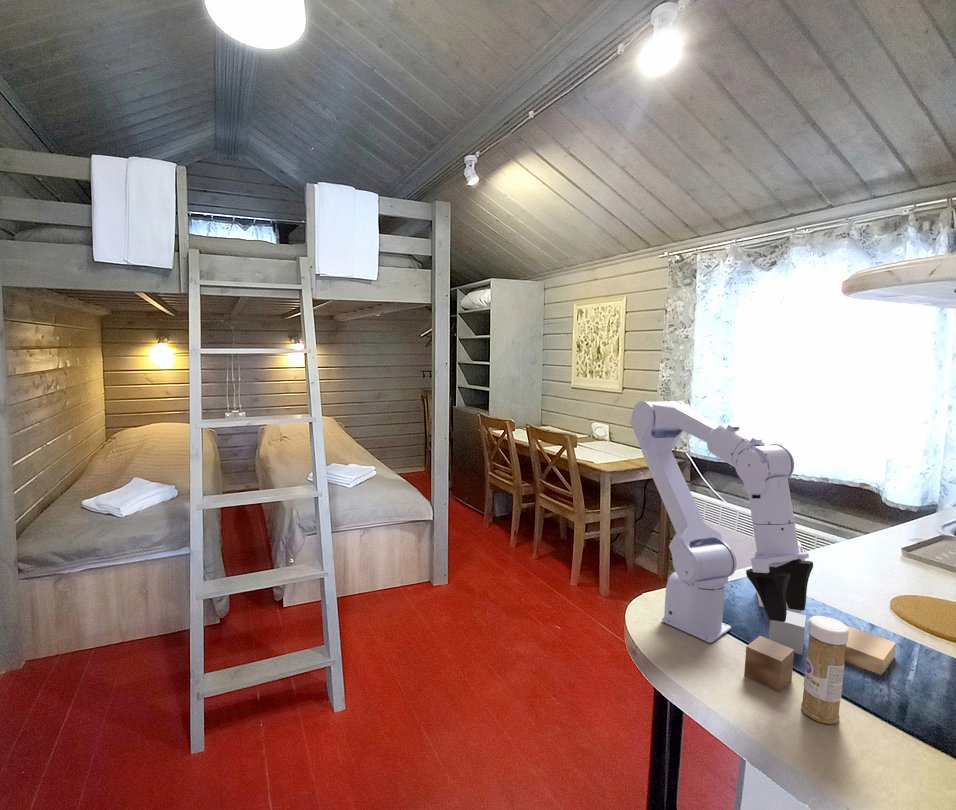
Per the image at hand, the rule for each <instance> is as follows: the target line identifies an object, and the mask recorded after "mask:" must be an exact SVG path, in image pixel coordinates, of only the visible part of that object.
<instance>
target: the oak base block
mask: <svg viewBox="0 0 956 810" xmlns="http://www.w3.org/2000/svg"><path fill="white" fill-rule="evenodd" d="M845 625H846V624H845ZM846 626H847V628H848V631H849V632H848V642H847V643H846V647H845V658H844V663H848V664H850V665H853V666H856V667H858V668H860V667H861V669H863V670H865V669H866V671H868V670H869V671H868V672H870V671H873V672H876V673H880V674H882V673H883V672H884V671H886V670H887V669H888V668H889V666H890V665H891V663H892V662H891V661H893V660H894V659H895V655H896V646H897V642H895V641H892V640H889V639H886V638H883V637H881V636H878V635H875V634H872V633H869V632H866V631H864V630H861V629H858V628H855V627H852V626H850V625H846ZM889 664H890V665H889ZM888 665H889V666H888ZM886 668H887V669H886ZM885 669H886V670H885ZM873 672H872V673H873ZM876 673H875V674H876ZM884 673H885V672H884ZM884 673H883V674H884Z"/></svg>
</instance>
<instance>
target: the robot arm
mask: <svg viewBox="0 0 956 810" xmlns="http://www.w3.org/2000/svg"><path fill="white" fill-rule="evenodd" d="M629 423H630V425H631V427H632V429H633V433H634V435H635V437H636V440H637V442H638V445H639V446H640V449H641V453H642V456H643V459H644V461H645V463H646V465H647V467H648V469H649V472H650V475H651V476H652V477H651V478H652V479H653V482H654V484H655V487H656V489H657V492H658V494H659V495H660V497H661V501H662V503H663V506H664V507H665V510H666V512H667V514H668V516H669V519H670V521H671V524H672V526H673V529H674V531H675V535H674V536H673V538H672V540H670V543H669V545H668V548H669V551H670V552H671V553H670V554H671V556H672V558H671V559H672V566H673V569H674V572H672V573H671V575H670V576H669V577H668V579H667V582H666V587H665V597H664V598H665V599H664V614H663V617H662V618H661V621H662V623H664V622H665V624H666V625H669V626H671V627H674V628H676V629H678V630H680V631H683V632H684V633H687V634H689V635H691V636H693V637H696V638H698V639H700V640H702V641H704V642H706V643H710V644H711V643H713V642H715V641H716V640H719V638H720V637H722V636H724V634H726V633H727V632H729V631H730V630H732V626H731V625H729V624H726V623H724V622H723V616H724V614H723V613H724V601H725V585H726V584H728V583H729V577H731V576H733V575H734V574H735V572H736V569H737V563H738V561H737V557H736V555H735V552H734V551H733V549H732V548H731V547H730V546H729V544H727V543H726V541H725V540H724V538H723V537H722V534H721V533H720V532H719V531H717V530H716V529H714V528H712V527H710V526H709V525H707V524H706V523H705V521H704V518H703V517H702V514H701V511H700V510H699V508H698V505H697V503H696V501H695V499H694V497H693V495H692V493H691V490H690V487H689V485H688V484H687V481H686V479H685V477H684V476H683V475H684V474H683V473H682V470H681V468H680V467H679V464H678V462H677V460H676V458H675V455H674V453H673V448H674V447H675V446H676V445H678V443H679V441H680V439H681V437H682V435H683V433H684V432H685V433H687V434H689V435H691V436H693V437H695V438H697V439H699V440H700V441H703V442H705V443H706V447H707V450H708V452H710V454H712V455H714V456H715V457H717V458H719V459H721V460H722V461H723V462H725V463H727V464H729V465H730V466H732V467H733V468H735V472H736V474H737V476H738V477H739V478H740V480H741V482H742V483H743V488H744V491H746V494H747V495H748V501H749V502H748V503H749V506H750V507H749V509H750V514H751V521H752V522H751V523H752V527H753V535H754V542H755V543H754V544H755V548H756V549H755V550H756V551H755V552H754V556H753V557H752V558H751V559H750V561H751V562H750V563H751V568H749V569H746V570H745V574H746V575H745V576H746V577H747V579H748V580H749V581H750V583H751V584H752V585H753V587H754V589H755V590H757V592H758V594H759V596H760V598H761V601H762V603H763V606H764V607H763V608H764V611H765V612H766V613H765V614H766V615H767V618H768V620H769V621H770V620H773V621H780V622H785V621H786V614H787V610H786V603H787V605H788V608H789V609H794V610H801V612H802V611H805V610H806V605H807V593H808V592H807V591H808V583H809V578H810V575H811V574H812V570H813V568H814V562H813V561H811V560H806V559H809V557H810V555H809V552H805V551H804V552H803V550H804V548H803V546H802V545H801V546H798V541H799V540H798V537H797V536H798V535H797V530H796V524H795V523H796V521H795V517H794V516H795V515H794V511H793V510H794V509H793V504H792V497H791V492H790V491H791V490H790V485H789V478H791V476H792V475H793V473H794V470H795V460H794V457H793V455H792V453H791V452H790V450H788V449H787V448H785V447H784V446H783V445H782V444H780V443H771V444H768V445H767V444H765V443H764V442H763V440H762V438H761V437H758V436H751V435H749V434H748V433H746V432H744V431H741V430H740V429H741V427H740V426H739V424H736V423H729V424H728V423H727V424H726V423H725V424H719V425H717V424H715V423H714V422H712V421H710V420H709V419H707V418H706V417H705V416H702V415H701V414H699V413H698V412H696V411H694V409H692V408H691V406H690V405H689V404H687V403H684V402H683V401H681V400H676V399H675V400H672V401H671V400H670V401H667V400H666V401H664V400H662V401H646V400H640V401H638V402H637V403H636V404H635V405H634V406H633V409H632V413H631V418H630V422H629ZM801 559H805V561H802V560H801ZM757 592H756V593H757Z"/></svg>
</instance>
